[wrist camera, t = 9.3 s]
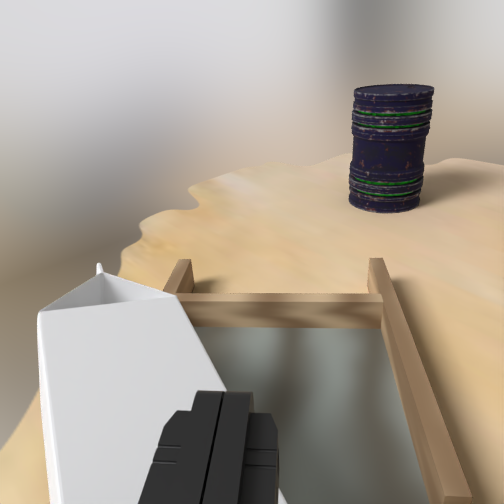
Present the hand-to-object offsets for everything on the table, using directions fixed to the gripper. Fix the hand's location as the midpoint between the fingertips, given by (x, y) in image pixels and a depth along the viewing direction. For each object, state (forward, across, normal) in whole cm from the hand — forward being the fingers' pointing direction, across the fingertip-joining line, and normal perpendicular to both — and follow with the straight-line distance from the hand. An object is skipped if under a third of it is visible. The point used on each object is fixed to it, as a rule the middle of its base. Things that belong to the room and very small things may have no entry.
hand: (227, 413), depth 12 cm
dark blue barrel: (+50, -14, +13) cm, 54 cm away
